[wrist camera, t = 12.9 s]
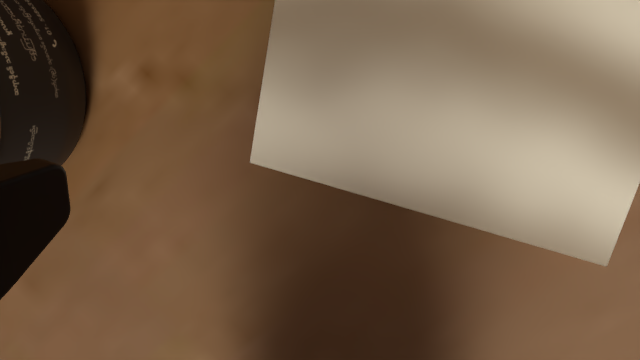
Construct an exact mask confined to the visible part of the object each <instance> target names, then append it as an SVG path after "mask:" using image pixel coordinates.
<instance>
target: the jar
mask: <svg viewBox="0 0 640 360" xmlns="http://www.w3.org/2000/svg"><path fill="white" fill-rule="evenodd" d="M85 110H86V86H85V78H84V73H83V68H82V65H81V61H80V58H79V55H78V53H77V50H76V48H75V45H74V43H73V41H72V39H71V37H70V36H69V34H68V32H67V30H66V29H65V27H64V26H63V24H62V23H61V21H60V20H59V18H58V17H57V16H56V14H55V13H54V12H53V11H52V9H51V8H50V7H49V6H48V5H47V4H46V3H45V2H44V1H43V0H0V164H5V163H11V162H17V161H23V160H29V159H35V158H39V159H44V160H47V161H50V162H53V163H57V164H59V165H62V164H63V163H64V162H65V161H66V160H67V158H68V157H69V156H70V154H71V153H72V151H73V150H74V148H75V146H76V144H77V142H78V139H79V136H80V134H81V130H82V126H83V122H84V117H85Z"/></svg>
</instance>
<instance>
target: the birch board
mask: <svg viewBox="0 0 640 360" xmlns="http://www.w3.org/2000/svg"><path fill="white" fill-rule="evenodd" d="M250 163H253V164H256V165H260V166H263V167H267V168H270V169H274V170H277V171H280V172H284V173H287V174H291V175H294V176H298V177H301V178H304V179H308V180H311V181H315V182H318V183H322V184H325V185H328V186H332V187H335V188H339V189H342V190H346V191H349V192H352V193H356V194H359V195H363V196H366V197H370V198H373V199H376V200H380V201H383V202H387V203H390V204H394V205H397V206H401V207H404V208H407V209H411V210H414V211H418V212H421V213H425V214H428V215H431V216H435V217H438V218H442V219H445V220H449V221H452V222H455V223H459V224H462V225H466V226H469V227H473V228H476V229H479V230H483V231H486V232H490V233H493V234H497V235H500V236H503V237H507V238H510V239H514V240H517V241H521V242H524V243H527V244H531V245H534V246H538V247H541V248H545V249H548V250H551V251H555V252H558V253H562V254H565V255H569V256H572V257H575V258H579V259H582V260H586V261H589V262H593V263H596V264H599V265H603V266H606V267H607V264H608V262H609V259H610V257H611V254H612V252H613V249H614V247H615V244H616V242H617V239H618V236H619V234H620V231H621V229H622V226H623V224H624V221H625V219H626V216H627V213H628V211H629V208H630V206H631V203H632V201H633V198H634V196H635V193H636V191H637V188H638V185H639V183H640V0H275V4H274V10H273V17H272V23H271V30H270V36H269V42H268V49H267V55H266V62H265V68H264V75H263V81H262V87H261V94H260V100H259V107H258V113H257V119H256V126H255V132H254V139H253V145H252V152H251V158H250Z"/></svg>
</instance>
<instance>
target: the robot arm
mask: <svg viewBox="0 0 640 360" xmlns="http://www.w3.org/2000/svg"><path fill="white" fill-rule="evenodd" d="M69 215H70V200H69V192H68V184H67V176H66V172H65V170H64V168H63V167H62V166H61V165H59V164H57V163H53V162H50V161H47V160H44V159H39V158H35V159H29V160H23V161H17V162H11V163H5V164H0V300H1V298H2V297H3V296H4V295H5V294H6V293H7V292H8V291H9V290H10V289H11V288H12V286H13V285H14V284H15V283H16V282H17V281H18V279H19V278H20V277H21V276H22V275H23V274H24V272H25V271H26V270H27V269H28V268H29V266H30V265H31V264H32V263H33V262H34V260H35V259H36V258H37V257H38V256H39V254H40V253H41V252H42V251H43V250H44V249H45V247H46V246H47V245H48V244H49V243H50V241H51V240H52V239H53V238H54V237H55V235H56V234H57V233H58V232H59V231H60V230H61V228H62V227H63V226H64V225H65V223H66V222H67V220H68V218H69Z"/></svg>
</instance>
